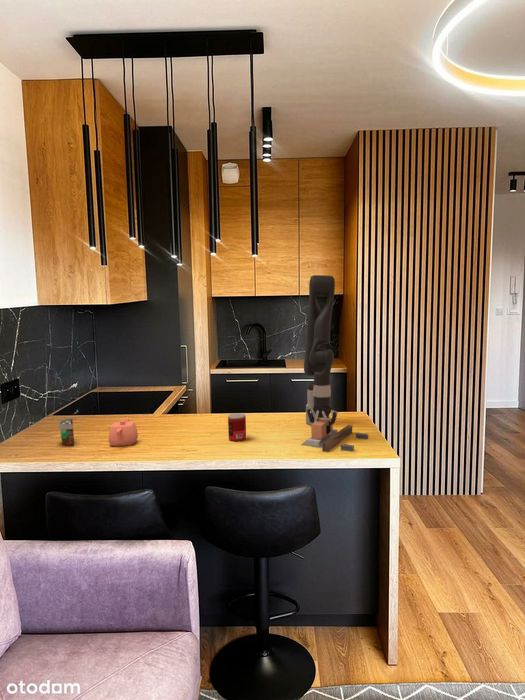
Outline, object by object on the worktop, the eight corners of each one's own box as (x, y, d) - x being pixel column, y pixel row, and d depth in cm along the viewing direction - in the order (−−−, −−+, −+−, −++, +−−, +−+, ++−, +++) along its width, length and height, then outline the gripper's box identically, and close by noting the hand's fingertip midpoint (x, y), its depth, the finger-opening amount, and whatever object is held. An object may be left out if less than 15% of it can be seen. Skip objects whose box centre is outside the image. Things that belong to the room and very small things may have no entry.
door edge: (322, 451, 210) (322, 443, 209) (348, 432, 236) (348, 424, 235) (326, 452, 209) (326, 443, 208) (352, 432, 235) (352, 425, 234)
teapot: (105, 449, 219) (103, 426, 217) (116, 437, 237) (115, 415, 235) (132, 449, 219) (131, 425, 218) (141, 436, 237) (140, 414, 235)
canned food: (249, 438, 230) (248, 414, 229) (239, 442, 224) (239, 418, 222) (235, 435, 234) (234, 412, 233) (225, 440, 228) (224, 416, 226)
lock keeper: (301, 444, 219) (301, 439, 219) (321, 431, 238) (321, 426, 238) (322, 448, 214) (322, 442, 214) (341, 434, 233) (341, 429, 233)
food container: (59, 440, 234) (57, 419, 232) (74, 438, 236) (72, 417, 234) (59, 448, 222) (57, 426, 221) (74, 446, 224) (72, 424, 223)
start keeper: (340, 449, 211) (340, 445, 211) (357, 436, 228) (357, 432, 228) (352, 451, 209) (352, 446, 208) (367, 438, 226) (367, 433, 226)
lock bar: (311, 438, 220) (311, 424, 220) (323, 429, 233) (323, 416, 232) (321, 439, 218) (321, 425, 218) (332, 430, 231) (332, 417, 230)
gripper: (340, 394, 223) (340, 432, 225) (310, 391, 230) (311, 428, 232) (334, 397, 217) (334, 437, 219) (303, 395, 224) (304, 433, 226)
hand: (322, 432), depth 225 cm, fingers closed on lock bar, 4 cm apart
